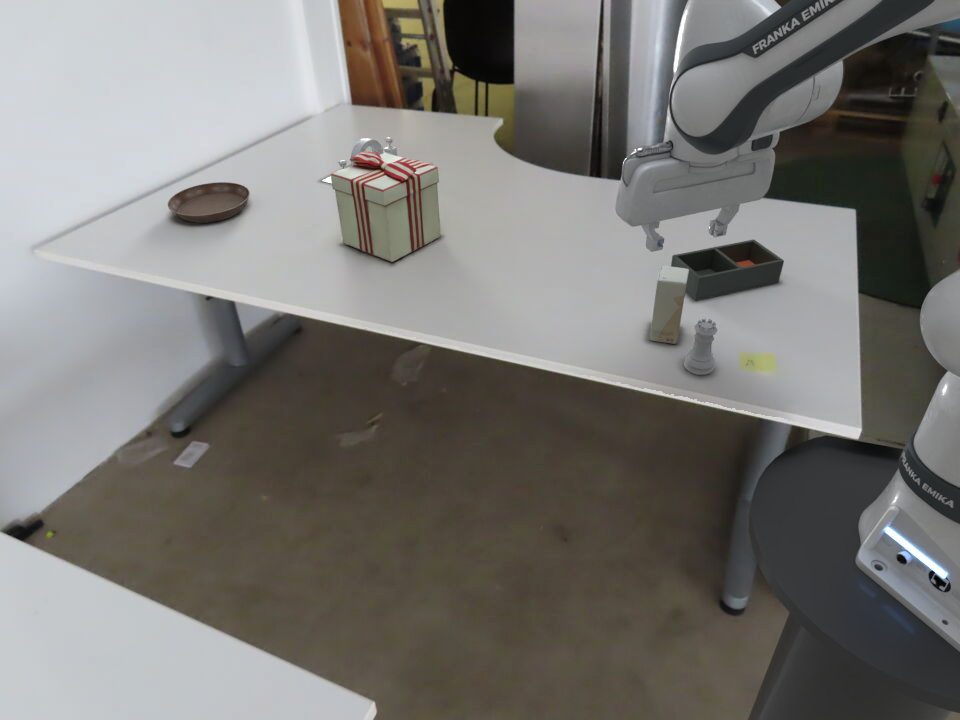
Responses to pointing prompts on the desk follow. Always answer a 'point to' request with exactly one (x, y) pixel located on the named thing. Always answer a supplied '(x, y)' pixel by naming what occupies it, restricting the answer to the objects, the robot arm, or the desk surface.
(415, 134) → the desk surface
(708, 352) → the rook chess piece
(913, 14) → the robot arm
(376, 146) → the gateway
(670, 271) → the box
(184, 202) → the plant saucer
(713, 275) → the divided tray
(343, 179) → the gift box
